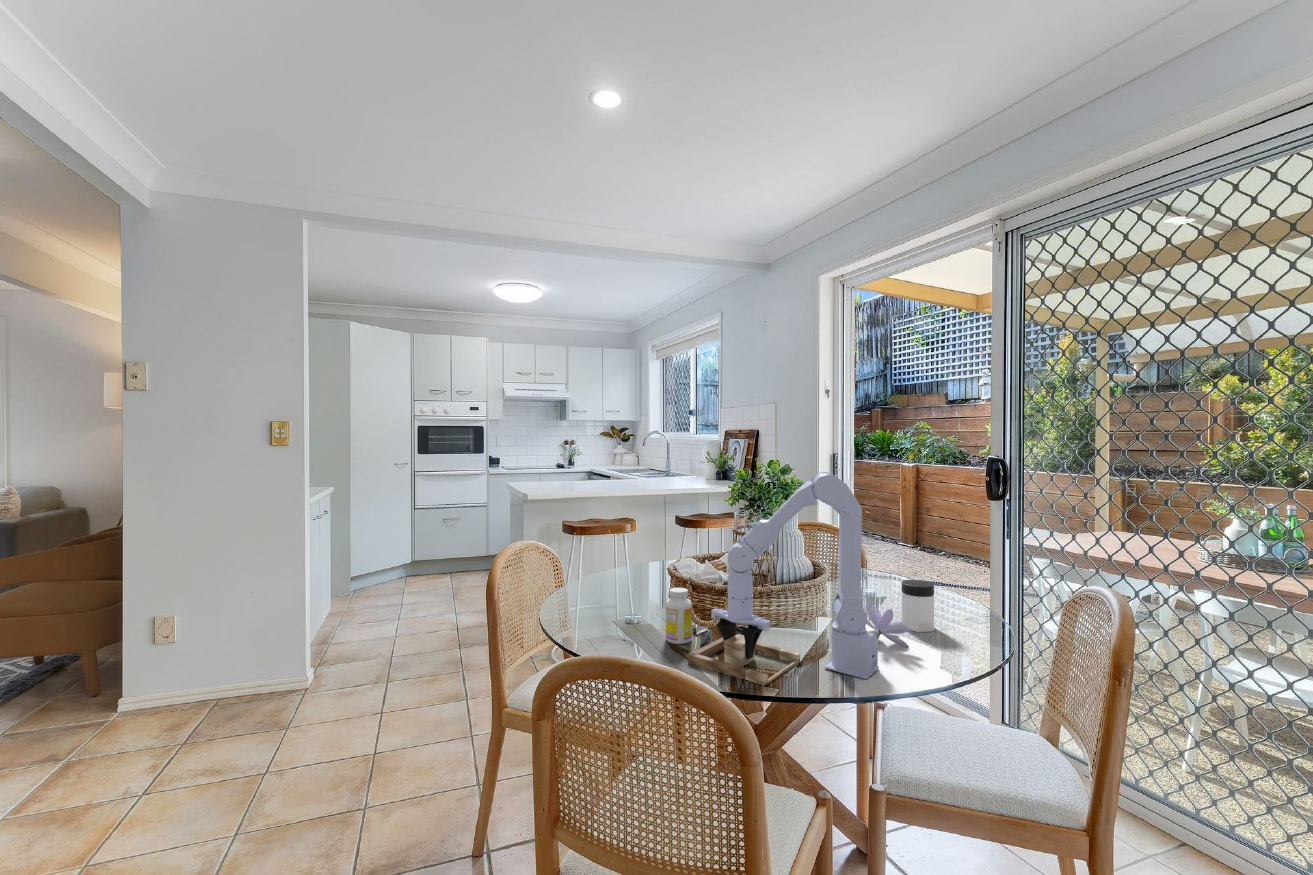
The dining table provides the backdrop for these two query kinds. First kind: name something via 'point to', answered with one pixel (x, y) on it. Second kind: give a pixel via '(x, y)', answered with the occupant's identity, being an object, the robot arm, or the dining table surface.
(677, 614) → the supplement bottle
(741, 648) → the beige cube
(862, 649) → the robot arm
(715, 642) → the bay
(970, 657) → the dining table surface
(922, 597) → the jar
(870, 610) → the water lily
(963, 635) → the dining table surface
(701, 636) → the winch
